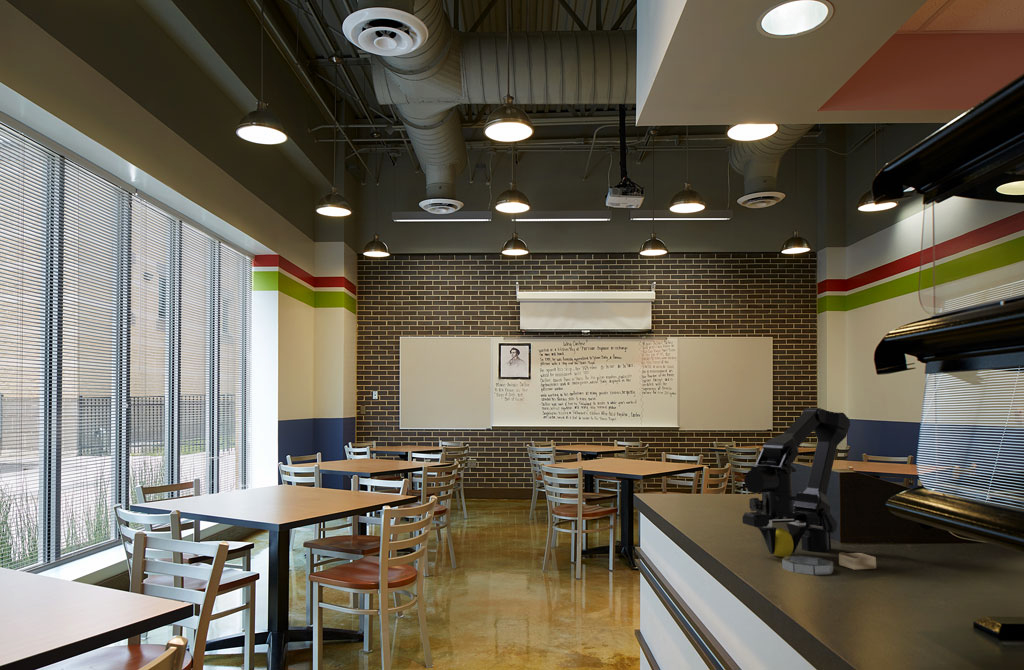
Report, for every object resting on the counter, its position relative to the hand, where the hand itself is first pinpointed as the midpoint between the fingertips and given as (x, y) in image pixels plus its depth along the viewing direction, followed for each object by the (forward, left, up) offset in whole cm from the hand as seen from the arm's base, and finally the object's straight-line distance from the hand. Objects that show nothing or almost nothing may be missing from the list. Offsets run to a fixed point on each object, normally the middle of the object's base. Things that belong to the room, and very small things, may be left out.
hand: (782, 553), depth 171 cm
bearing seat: (+3, +14, -1) cm, 14 cm away
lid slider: (-11, +14, 0) cm, 18 cm away
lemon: (0, 0, -2) cm, 2 cm away
